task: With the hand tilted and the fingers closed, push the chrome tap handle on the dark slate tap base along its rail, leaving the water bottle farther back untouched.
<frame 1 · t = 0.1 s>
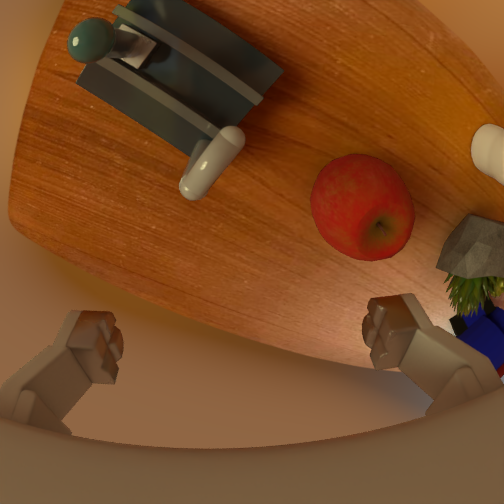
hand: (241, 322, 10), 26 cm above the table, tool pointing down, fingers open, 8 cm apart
water bottle: (485, 146, 32), on the table
potted plant: (460, 243, 41), on the table
tap base: (178, 70, 27), on the table
alarm clock: (473, 319, 51), on the table
apple: (348, 190, 35), on the table
tap handle: (113, 43, 18), point 9 cm above the table, slide at 0.0 cm
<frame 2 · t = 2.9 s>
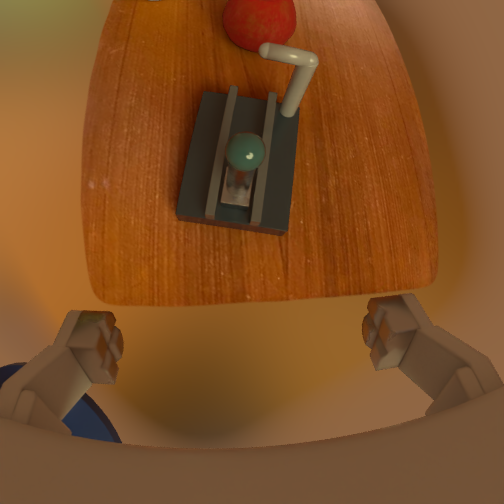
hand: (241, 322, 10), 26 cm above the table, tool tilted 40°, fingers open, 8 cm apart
tap base: (240, 164, 37), on the table
apple: (256, 37, 41), on the table
tap handle: (240, 170, 28), point 9 cm above the table, slide at 0.0 cm
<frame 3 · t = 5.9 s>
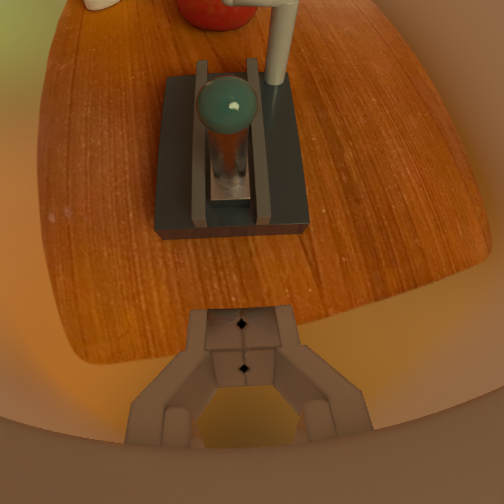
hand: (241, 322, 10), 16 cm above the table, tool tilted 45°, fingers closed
water bottle: (106, 1, 35), on the table
tap base: (229, 154, 28), on the table
apple: (219, 18, 34), on the table
tap handle: (228, 145, 19), point 9 cm above the table, slide at 0.0 cm
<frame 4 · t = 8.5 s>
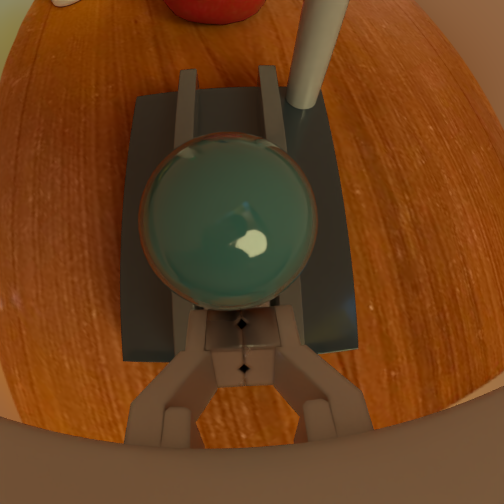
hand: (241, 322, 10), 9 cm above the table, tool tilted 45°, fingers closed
tap base: (233, 219, 19), on the table
apple: (217, 7, 24), on the table
tap handle: (233, 262, 10), point 9 cm above the table, slide at 0.3 cm, touching gripper
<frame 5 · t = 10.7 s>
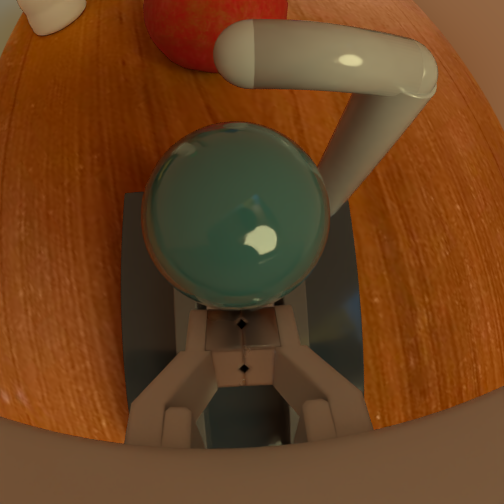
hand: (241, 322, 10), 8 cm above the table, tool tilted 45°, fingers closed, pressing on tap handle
water bottle: (61, 20, 24), on the table
tap base: (242, 339, 18), on the table
apple: (218, 45, 22), on the table
tap handle: (237, 259, 9), point 9 cm above the table, slide at 7.5 cm, touching gripper
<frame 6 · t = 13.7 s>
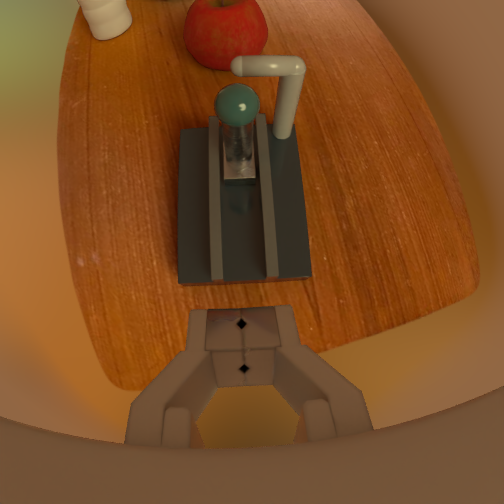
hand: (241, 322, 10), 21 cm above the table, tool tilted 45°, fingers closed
water bottle: (113, 29, 39), on the table
tap base: (241, 205, 32), on the table
apple: (227, 53, 37), on the table
tap handle: (238, 135, 24), point 9 cm above the table, slide at 7.5 cm
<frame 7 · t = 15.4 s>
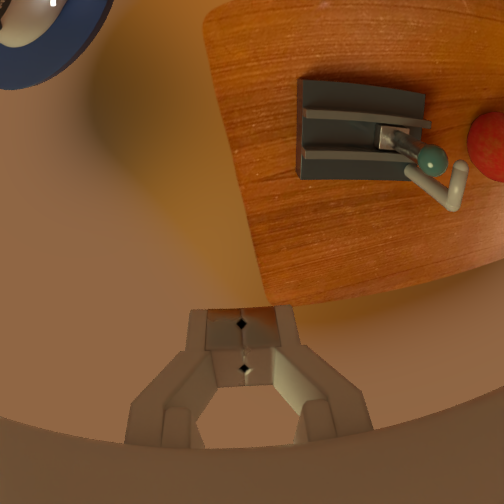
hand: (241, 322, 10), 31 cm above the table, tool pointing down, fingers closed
tap base: (357, 128, 36), on the table
apple: (482, 138, 37), on the table
tap handle: (412, 148, 29), point 9 cm above the table, slide at 7.5 cm
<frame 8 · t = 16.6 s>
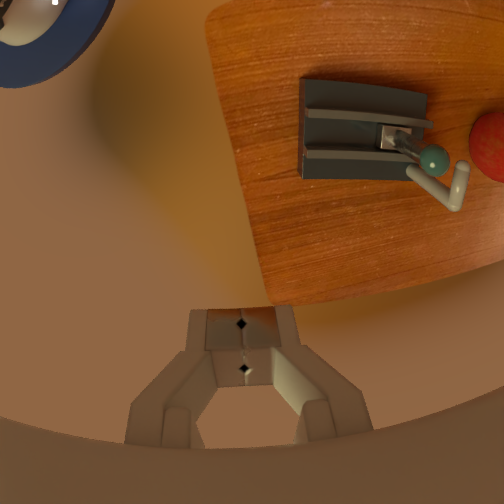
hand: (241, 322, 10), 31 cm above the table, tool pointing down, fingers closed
tap base: (359, 128, 36), on the table
apple: (484, 138, 37), on the table
tap handle: (414, 148, 29), point 9 cm above the table, slide at 7.5 cm
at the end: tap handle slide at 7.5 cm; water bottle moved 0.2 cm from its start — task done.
